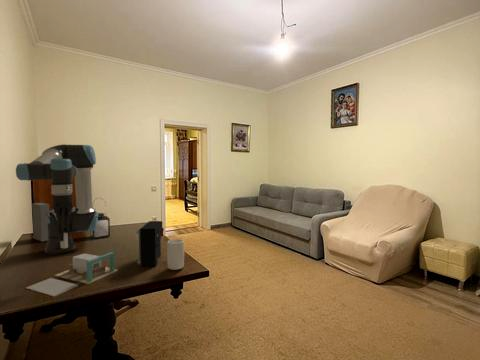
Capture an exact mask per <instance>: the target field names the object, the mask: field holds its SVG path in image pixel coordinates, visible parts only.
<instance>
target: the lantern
mask: <svg viewBox="0 0 480 360" xmlns="http://www.w3.org/2000/svg"><path fill="white" fill-rule="evenodd" d="M95 200H97V198H95V199H94V200H93V201H92V204H94V203H95ZM100 200H103V198H101V197H100ZM104 203H105V205H107V203H106V202H104ZM110 223H111V222H110V217H108V216H107V215H106V213H103V212H98V222H97V227H96V229H95V230H93V231H89V232H90V237H91V238H92V239H93V240H95V239H99V238H106V237H110V236H111V224H110Z"/></svg>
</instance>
